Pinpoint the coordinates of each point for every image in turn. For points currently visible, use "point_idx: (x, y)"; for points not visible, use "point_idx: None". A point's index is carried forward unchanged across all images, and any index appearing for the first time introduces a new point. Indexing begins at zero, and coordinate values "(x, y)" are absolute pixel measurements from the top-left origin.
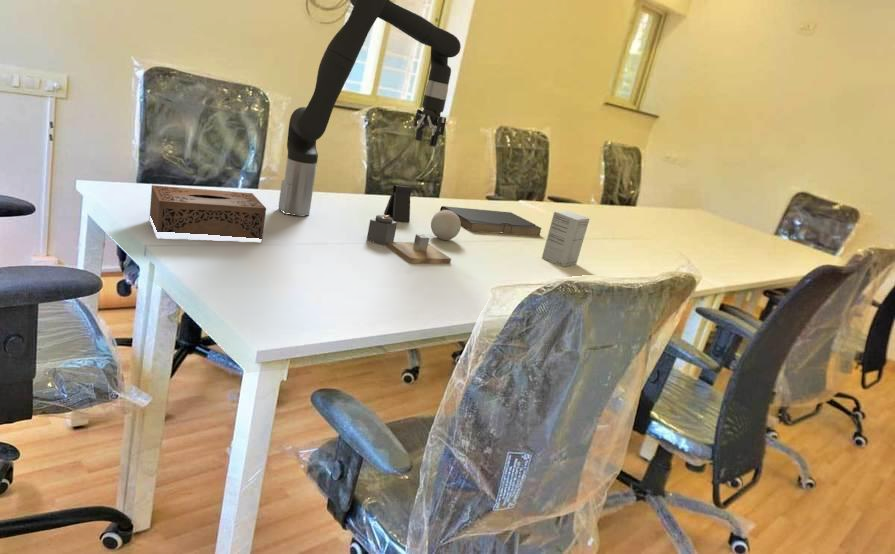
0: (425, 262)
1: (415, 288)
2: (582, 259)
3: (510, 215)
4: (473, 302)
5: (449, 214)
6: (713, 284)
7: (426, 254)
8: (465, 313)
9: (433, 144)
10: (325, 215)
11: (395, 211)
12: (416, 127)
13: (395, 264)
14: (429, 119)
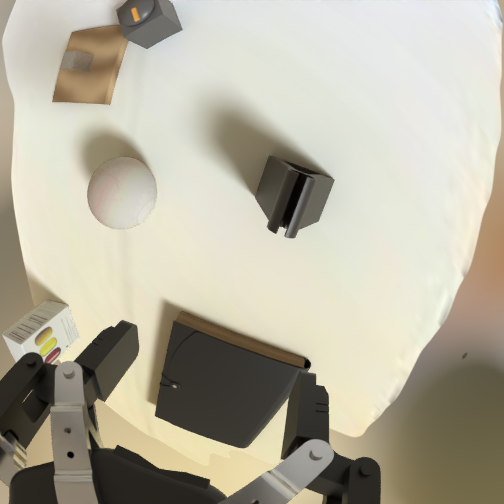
0: None
1: (41, 13)
2: None
3: (221, 434)
4: (7, 63)
5: (91, 187)
6: None
7: None
8: (5, 43)
9: (108, 330)
10: (337, 6)
11: (274, 160)
12: (329, 450)
13: (83, 11)
14: (63, 477)
